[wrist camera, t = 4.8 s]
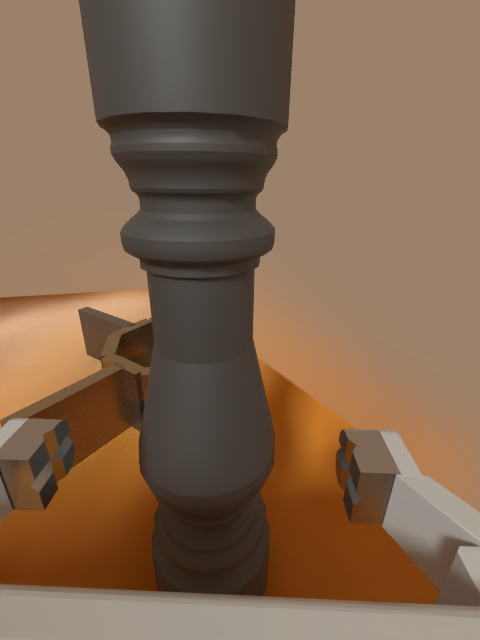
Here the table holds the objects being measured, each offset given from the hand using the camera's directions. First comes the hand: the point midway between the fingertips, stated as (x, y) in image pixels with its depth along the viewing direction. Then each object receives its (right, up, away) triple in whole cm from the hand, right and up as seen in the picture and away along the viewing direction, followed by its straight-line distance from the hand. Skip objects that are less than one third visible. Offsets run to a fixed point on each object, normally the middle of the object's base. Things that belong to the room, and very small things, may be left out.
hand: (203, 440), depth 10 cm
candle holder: (0, -11, +9) cm, 14 cm away
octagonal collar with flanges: (-12, -4, +23) cm, 26 cm away
